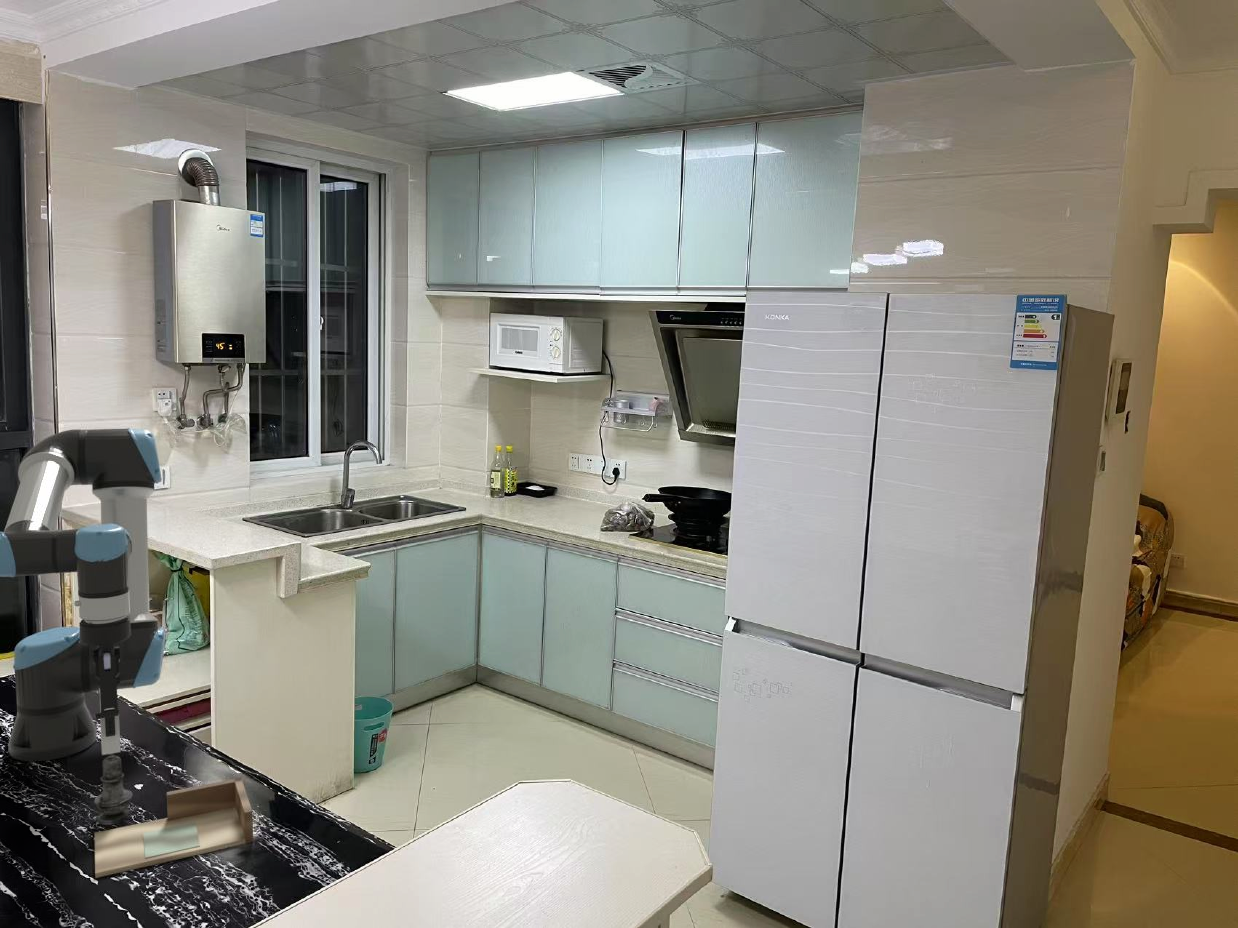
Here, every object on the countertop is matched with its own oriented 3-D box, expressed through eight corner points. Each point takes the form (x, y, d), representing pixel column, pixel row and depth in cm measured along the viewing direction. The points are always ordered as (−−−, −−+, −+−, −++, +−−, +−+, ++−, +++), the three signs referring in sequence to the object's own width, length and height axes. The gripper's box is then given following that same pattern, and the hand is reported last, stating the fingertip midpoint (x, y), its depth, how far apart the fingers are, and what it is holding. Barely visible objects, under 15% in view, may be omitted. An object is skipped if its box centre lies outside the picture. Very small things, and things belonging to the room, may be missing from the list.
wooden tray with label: (94, 837, 154) (93, 806, 154) (241, 806, 166) (241, 777, 165) (95, 877, 143) (93, 845, 143) (253, 841, 155) (252, 811, 154)
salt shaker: (116, 827, 158) (113, 761, 156) (86, 822, 159) (83, 757, 157) (141, 810, 163) (138, 746, 162) (112, 806, 165) (108, 742, 163)
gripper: (79, 601, 165) (85, 714, 168) (78, 641, 143) (84, 771, 146) (127, 596, 169) (132, 707, 171) (132, 635, 147) (138, 761, 150)
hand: (110, 737), depth 159 cm, fingers open, 13 cm apart
